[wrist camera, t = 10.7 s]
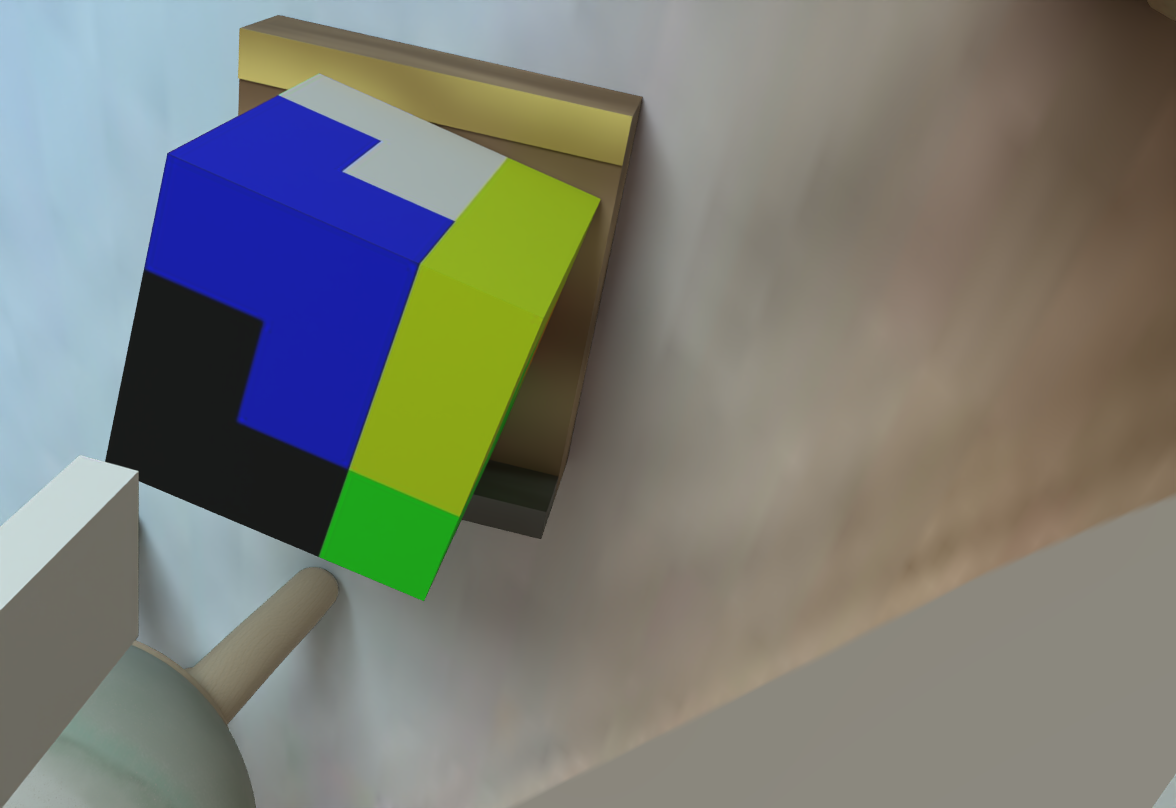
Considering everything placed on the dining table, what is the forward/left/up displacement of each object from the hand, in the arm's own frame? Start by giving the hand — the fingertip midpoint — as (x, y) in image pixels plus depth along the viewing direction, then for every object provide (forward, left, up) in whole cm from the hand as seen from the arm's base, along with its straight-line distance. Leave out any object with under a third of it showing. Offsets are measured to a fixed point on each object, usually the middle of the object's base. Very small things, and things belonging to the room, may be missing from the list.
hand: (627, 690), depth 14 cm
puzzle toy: (+6, -9, -24) cm, 27 cm away
